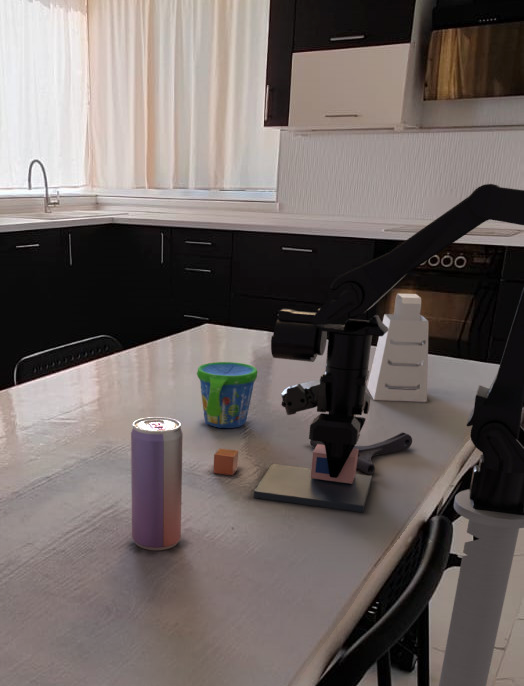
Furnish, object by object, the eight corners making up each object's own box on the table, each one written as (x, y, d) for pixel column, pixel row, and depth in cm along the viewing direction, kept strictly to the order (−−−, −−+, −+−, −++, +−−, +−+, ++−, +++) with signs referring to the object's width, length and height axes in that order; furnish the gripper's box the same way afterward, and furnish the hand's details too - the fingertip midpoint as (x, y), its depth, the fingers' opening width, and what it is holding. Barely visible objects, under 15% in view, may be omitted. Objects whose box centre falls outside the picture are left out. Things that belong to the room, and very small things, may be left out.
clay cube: (237, 469, 118) (238, 450, 117) (232, 475, 116) (233, 456, 114) (218, 466, 119) (219, 448, 118) (213, 473, 116) (214, 454, 115)
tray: (371, 482, 114) (372, 475, 113) (362, 512, 103) (363, 505, 103) (271, 469, 118) (271, 463, 118) (253, 497, 108) (254, 491, 107)
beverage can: (138, 554, 91) (137, 433, 85) (127, 534, 96) (125, 418, 90) (186, 549, 92) (189, 429, 86) (173, 529, 98) (174, 414, 92)
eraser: (355, 474, 113) (358, 448, 111) (352, 484, 109) (355, 457, 108) (314, 469, 115) (317, 443, 113) (310, 478, 111) (312, 452, 109)
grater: (416, 388, 165) (430, 292, 157) (426, 401, 155) (441, 300, 147) (367, 387, 166) (378, 291, 158) (373, 399, 156) (386, 298, 148)
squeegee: (440, 461, 122) (442, 444, 121) (365, 475, 116) (367, 457, 115) (379, 436, 134) (381, 421, 133) (309, 447, 128) (310, 431, 127)
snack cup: (235, 439, 132) (238, 381, 127) (180, 430, 136) (181, 373, 132) (267, 416, 144) (270, 362, 140) (215, 409, 149) (217, 356, 145)
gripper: (300, 348, 116) (292, 446, 122) (275, 375, 100) (267, 487, 106) (376, 354, 113) (363, 454, 119) (362, 383, 96) (349, 497, 103)
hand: (335, 472), depth 112 cm, fingers closed on eraser, 4 cm apart
